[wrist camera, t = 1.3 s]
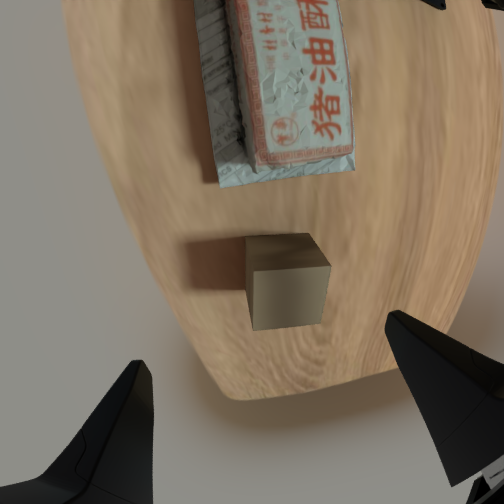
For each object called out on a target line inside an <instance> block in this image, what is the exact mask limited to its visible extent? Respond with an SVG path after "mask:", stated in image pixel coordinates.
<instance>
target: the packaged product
mask: <svg viewBox="0 0 504 504" xmlns="http://www.w3.org/2000/svg"><path fill="white" fill-rule="evenodd" d="M194 10H195V21H196V28H197V34H198V40H199V50H200V60H201V70H202V79H203V85H204V90H205V96H206V104H207V111H208V119H209V126H210V133H211V140H212V148H213V155H214V161H215V166H216V171H217V175H218V180H219V185H220V188H224V187H231V186H238V185H244V184H249V183H255V182H263V181H270V180H276V179H283V178H289V177H297V176H305V175H314V174H324V173H332V172H341V171H352V170H355V156H354V149H355V135H354V125H353V110H352V94H351V80H350V71H349V63H348V53H347V46H346V41H345V38H344V35H343V29H342V28H343V23H342V18H341V13H340V8H339V3H338V0H194Z"/></svg>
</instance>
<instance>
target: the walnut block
mask: <svg viewBox="0 0 504 504" xmlns="http://www.w3.org/2000/svg"><path fill="white" fill-rule="evenodd" d="M330 272H331V264H330V263H329V262H328V260H327V259H326V257H325V256H324V254H323V253H322V251H321V250H320V248H319V247H318V246H317V244H316V243H315V241H314V240H313V238H312V237H311V236H310V234H309V233H302V234H279V235H257V236H245V290H246V296H247V301H248V307H249V312H250V317H251V323H252V328H253V331H257V330H268V329H278V328H288V327H296V326H305V325H313V324H320V323H321V318H322V313H323V308H324V303H325V298H326V293H327V288H328V283H329V277H330Z"/></svg>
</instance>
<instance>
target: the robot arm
mask: <svg viewBox="0 0 504 504" xmlns="http://www.w3.org/2000/svg"><path fill="white" fill-rule="evenodd" d="M423 1H425V2H427V3H429V4H431V5H432V6H434V7H436V8H438V9H440V10H446V3H445V0H423ZM481 1H482V4H483V5H484V6H485V8H490V9H496V10H502V11H504V0H481ZM385 334H386V337H387V339H388V342H389V344H390V347H391V349H392V352H393V354H394V357H395V360H396V362H397V365H398V367H399V369H400V371H401V373H402V374H403V377H404V379H405V381H406V383H407V385H408V387H409V389H410V391H411V393H412V395H413V397H414V399H415V401H416V404H417V406H418V408H419V410H420V412H421V414H422V416H423V419H424V421H425V423H426V425H427V428H428V430H429V432H430V435H431V437H432V439H433V442H434V444H435V447H436V449H437V452H438V454H439V457H440V459H441V462H442V464H443V467H444V469H445V472H446V475H447V477H448V480H449V483H450V485H451V487H453V486H455V485H457V484H459V483H461V482H462V481H464V480H466V479H468V478H469V477H471V476H473V475H474V474H476V473H477V472H479V471H481V472H482V475H481V476H480V477H479V478H477V479H476V480H475V481H474V483H473V486H472V489H471V492H470V494H469V497H468V500H467V502H466V504H504V364H502V363H500V362H497V361H495V360H493V359H491V358H489V357H487V356H485V355H483V354H481V353H479V352H477V351H475V350H473V349H471V348H469V347H468V346H466V345H464V344H462V343H460V342H459V341H457V340H455V339H453V338H451V337H449V336H447V335H446V334H444V333H442V332H440V331H438V330H436V329H434V328H433V327H431V326H429V325H427V324H425V323H423V322H421V321H419V320H418V319H416V318H414V317H412V316H410V315H408V314H406V313H404V312H402V311H401V310H394V311H391V312H389V313H388V316H387V320H386V324H385ZM153 426H154V405H153V385H152V376H151V373H150V371H149V369H148V368H147V366H146V364H145V363H144V361H143V360H133V361H131V362H130V363H129V364H128V366H127V367H126V368H125V370H124V371H123V372H122V373H121V375H120V376H119V377H118V379H117V380H116V381H115V383H114V384H113V385H112V387H111V388H110V390H109V391H108V392H107V393H106V395H105V396H104V397H103V399H102V400H101V402H100V403H99V404H98V405H97V407H96V408H95V409H94V411H93V412H92V413H91V415H90V416H89V418H88V419H87V420H86V422H85V423H84V424H83V426H82V429H80V430H79V431H78V433H77V434H76V435H75V437H74V438H73V439H72V441H71V442H70V443H69V445H68V446H67V447H66V448H65V449H64V450H63V452H62V453H61V454H60V455H59V456H58V457H57V459H56V460H55V461H54V462H53V463H52V464H51V465H50V466H49V467H48V469H47V470H46V471H45V472H44V473H43V474H41V475H40V476H39V477H37V478H35V479H32V480H28V481H24V482H20V483H16V484H12V485H7V486H3V487H0V504H153V482H152V481H153V479H152V477H153V476H152V467H153V466H152V464H153V463H152V462H153Z"/></svg>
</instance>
